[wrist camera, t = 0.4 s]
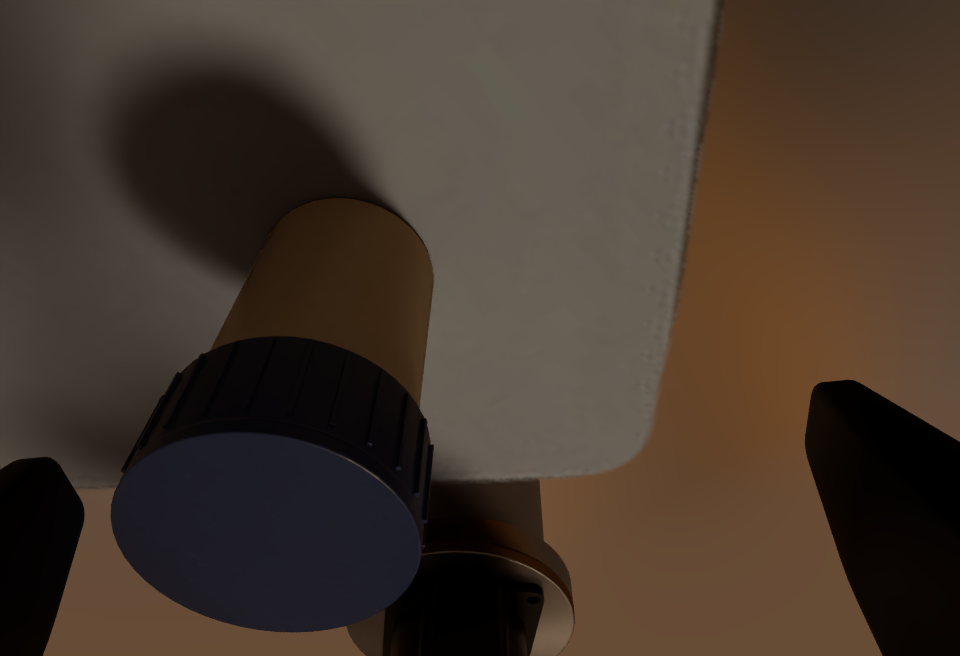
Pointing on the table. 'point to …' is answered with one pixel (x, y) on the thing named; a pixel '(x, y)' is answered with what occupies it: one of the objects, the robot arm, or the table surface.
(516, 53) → the table surface
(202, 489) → the jar lid
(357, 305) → the jar
